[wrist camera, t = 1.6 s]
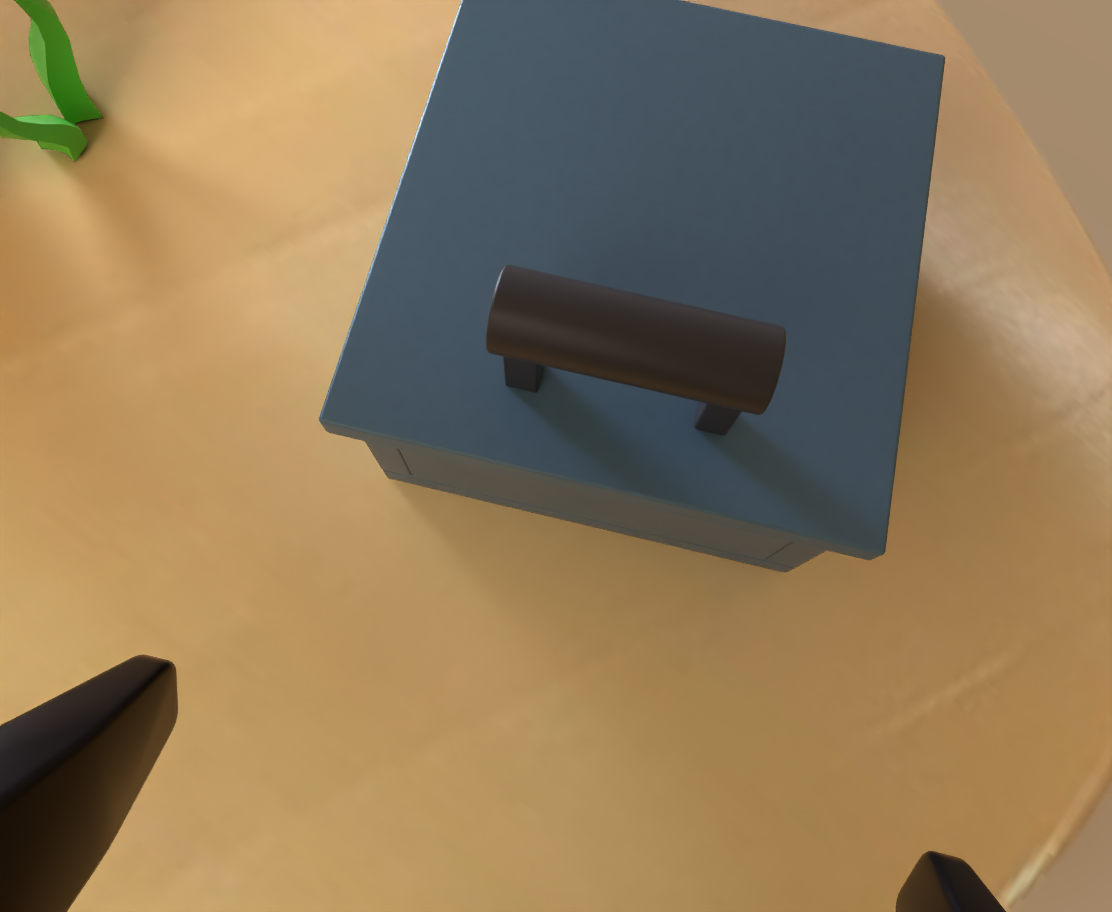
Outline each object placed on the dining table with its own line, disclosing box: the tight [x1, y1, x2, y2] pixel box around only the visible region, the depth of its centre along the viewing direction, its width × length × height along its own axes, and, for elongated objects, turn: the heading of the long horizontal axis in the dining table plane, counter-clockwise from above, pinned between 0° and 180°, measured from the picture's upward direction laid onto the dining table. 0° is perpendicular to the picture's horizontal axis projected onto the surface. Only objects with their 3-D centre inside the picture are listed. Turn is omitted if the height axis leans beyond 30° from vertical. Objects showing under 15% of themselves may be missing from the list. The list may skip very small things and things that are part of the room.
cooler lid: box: [319, 0, 945, 560], centre depth 17 cm, size 13×12×4 cm
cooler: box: [365, 441, 827, 572], centre depth 23 cm, size 12×12×6 cm
